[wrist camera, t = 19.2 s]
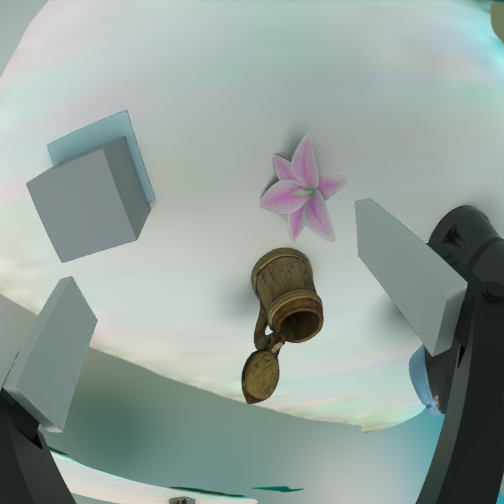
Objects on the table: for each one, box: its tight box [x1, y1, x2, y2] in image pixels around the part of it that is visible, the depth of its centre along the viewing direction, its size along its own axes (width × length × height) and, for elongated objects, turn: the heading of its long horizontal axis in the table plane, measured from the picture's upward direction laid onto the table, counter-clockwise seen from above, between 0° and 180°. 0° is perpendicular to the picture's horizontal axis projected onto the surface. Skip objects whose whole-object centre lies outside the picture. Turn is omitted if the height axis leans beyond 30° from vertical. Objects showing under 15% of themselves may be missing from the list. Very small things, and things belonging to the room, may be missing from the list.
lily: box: [259, 133, 347, 242], centre depth 37 cm, size 12×12×10 cm
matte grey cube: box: [26, 136, 151, 263], centre depth 33 cm, size 10×10×9 cm
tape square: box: [47, 110, 155, 202], centre depth 36 cm, size 12×12×1 cm
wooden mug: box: [242, 248, 323, 404], centre depth 39 cm, size 9×14×18 cm, turn 127°
